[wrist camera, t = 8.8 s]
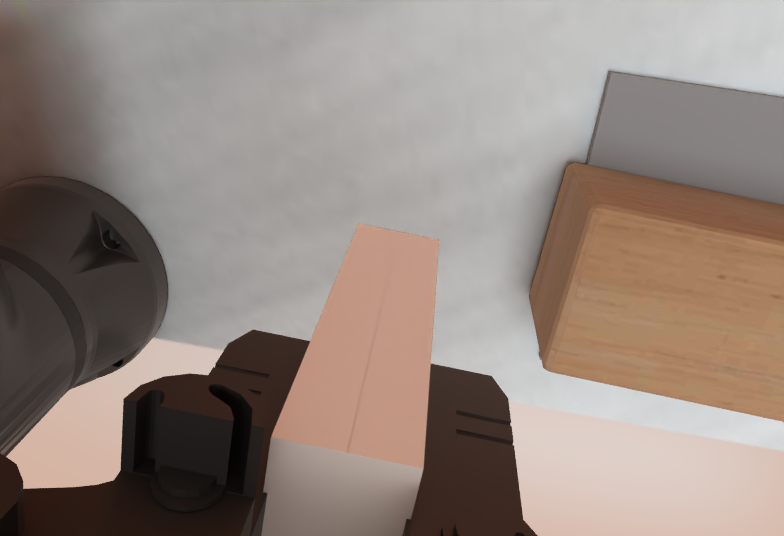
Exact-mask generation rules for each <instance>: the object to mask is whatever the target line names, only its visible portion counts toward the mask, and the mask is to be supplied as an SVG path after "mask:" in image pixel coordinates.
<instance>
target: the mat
mask: <svg viewBox="0 0 784 536" xmlns="http://www.w3.org/2000/svg"><path fill="white" fill-rule="evenodd" d="M586 165H590V166H595V167H600V168H605V169H609V170H614V171H619V172H624V173H629V174H634V175H638V176H643V177H648V178H653V179H658V180H663V181H667V182H672V183H677V184H682V185H687V186H692V187H696V188H701V189H706V190H711V191H716V192H721V193H725V194H730V195H735V196H740V197H745V198H750V199H754V200H759V201H764V202H769V203H774V204H779V205H783V206H784V97H778V96H771V95H765V94H758V93H752V92H745V91H738V90H732V89H725V88H718V87H712V86H705V85H698V84H692V83H685V82H679V81H672V80H665V79H659V78H652V77H645V76H639V75H632V74H626V73H619V72H612V71H609V73H608V77H607V81H606V85H605V89H604V93H603V97H602V101H601V106H600V110H599V114H598V118H597V122H596V126H595V130H594V134H593V138H592V142H591V146H590V150H589V154H588V158H587V162H586ZM539 357H540V360H542V359H541V354H540V352H539Z"/></svg>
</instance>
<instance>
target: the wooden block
mask: <svg viewBox="0 0 784 536" xmlns="http://www.w3.org/2000/svg"><path fill="white" fill-rule="evenodd" d="M529 299H530V304H531V309H532V314H533V319H534V324H535V329H536V334H537V339H538V344H539V349H540V354H541V359H542V364H543V368H544V369H546V370H548V371H550V372H553V373H558V374H563V375H567V376H572V377H577V378H581V379H586V380H591V381H595V382H600V383H605V384H610V385H614V386H619V387H624V388H628V389H633V390H638V391H642V392H647V393H652V394H656V395H661V396H666V397H671V398H675V399H680V400H685V401H689V402H694V403H699V404H703V405H708V406H713V407H717V408H722V409H727V410H731V411H736V412H741V413H746V414H750V415H755V416H760V417H764V418H769V419H774V420H778V421H783V422H784V206H783V205H779V204H774V203H769V202H764V201H759V200H754V199H750V198H745V197H740V196H735V195H730V194H725V193H721V192H716V191H711V190H706V189H701V188H696V187H692V186H687V185H682V184H677V183H672V182H667V181H663V180H658V179H653V178H648V177H643V176H638V175H634V174H629V173H624V172H619V171H614V170H609V169H605V168H600V167H595V166H590V165H585V164H580V163H571V164H569V165H568V167H567V168H566V170H565V174H564V177H563V181H562V184H561V187H560V191H559V194H558V198H557V201H556V205H555V208H554V212H553V215H552V219H551V222H550V225H549V229H548V232H547V236H546V239H545V243H544V246H543V250H542V253H541V256H540V260H539V263H538V267H537V270H536V274H535V277H534V281H533V284H532V288H531V291H530V294H529Z"/></svg>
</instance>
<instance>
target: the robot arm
mask: <svg viewBox="0 0 784 536" xmlns="http://www.w3.org/2000/svg"><path fill="white" fill-rule="evenodd" d="M438 249H439V240H437V239H432V238H427V237H422V236H418V235H413V234H408V233H403V232H398V231H393V230H388V229H383V228H378V227H373V226H368V225H364V224H358V227H357V229H356V231H355V234H354V236H353V239H352V241H351V244H350V246H349V249H348V251H347V253H346V256H345V258H344V261H343V263H342V266H341V268H340V270H339V273H338V275H337V278H336V280H335V283H334V285H333V287H332V290H331V292H330V295H329V297H328V300H327V302H326V304H325V307H324V309H323V312H322V314H321V317H320V319H319V322H318V324H317V326H316V329H315V331H314V334H313V336H312V339H311V341H306V340H301V339H296V338H291V337H286V336H281V335H277V334H272V333H267V332H262V331H257V330H252V331H250V332H248V333H246V334H245V335H243V336H241V337H239V338H238V339H236V340H234V341H232V342H231V343H229V344H228V345H227V347H226V348H225V350H224V352H223V353H222V355H221V356H220V358H219V360H218V361H217V363H216V366H215V368H214V367H213V369H212V370H211V372H210V373H209V375H199V374H183V375H175V376H166V377H162V378H159V379H157V380H154V381H151V382H149V383H146V384H143V385H140V386H139V387H138V388H137V389H135V390H134V391H133V392H132V393H130V394H129V395H128V396H127V397H126V398H124V405H123V430H122V453H121V471H120V472H119V474H118V475H117V477H116V478H115V480H114V481H110V482H106V483H102V484H99V485H91V486H82V487H69V488H39V489H38V488H37V489H23V480H22V477H21V475H20V472H19V470H18V467H17V464H15V463H14V462H12V461H11V460H10V459H8V458H7V457H6V456H7V455H8V454H9V453H10V452H11V451H12V450H13V449H14V447H15V446H16V445H17V444H18V443H19V442H20V441H21V440H22V439H23V438H24V437H25V436H26V435H27V434H28V433H29V432H30V431H31V429H32V428H33V427H34V426H35V425H36V424H37V423H38V422H39V421H40V420H41V419H42V418H43V417H44V416H45V415H46V414H47V412H48V411H49V410H50V409H51V408H52V407H53V406H54V405H55V404H56V403H57V402H58V401H59V399H60V398H61V397H62V396H63V395H64V394H65V393H66V392H67V391H68V390H70V389H72V388H75V387H77V386H80V385H82V384H85V383H87V382H90V381H92V380H95V379H96V378H99V377H102V376H105V375H107V374H110V373H112V372H114V371H116V370H118V369H120V368H121V367H123V366H124V365H126V364H127V363H128V362H130V361H131V360H132V359H134V358H135V357H136V356H137V355H138V354H139V353H140V352H141V350H142V349H143V348H144V347H145V346H146V344H148V343H149V341H150V340H151V339H152V338H153V337H154V335H155V334H156V332H157V330H158V329H159V327H160V325H161V322H162V320H163V317H164V314H165V310H166V305H167V279H166V273H165V269H164V265H163V262H162V259H161V257H160V254H159V252H158V250H157V248H156V246H155V244H154V242H153V240H152V239H151V237H150V235H149V234H148V232H147V231H146V229H145V228H144V227H143V226H142V224H141V223H140V222H139V221H138V220H137V219H136V217H135V216H134V215H133V214H132V213H131V212H130V211H128V210H127V209H126V208H125V207H124V206H123V205H121V204H120V203H119V202H118V201H116V200H115V199H113V198H112V197H110V196H109V195H107V194H105V193H104V192H102V191H100V190H98V189H96V188H94V187H92V186H89V185H87V184H84V183H81V182H78V181H74V180H70V179H65V178H58V177H36V178H29V179H24V180H21V181H18V182H15V183H12V184H10V185H8V186H6V187H3V188H1V189H0V536H537V535H536V534H535V532H534V531H533V530H532V529H531V528H530V527H529V526H528V525H527V523H525V521H524V520H523V515H522V507H521V499H520V491H519V483H518V475H517V467H516V459H515V451H514V446H513V435H512V427H511V426H510V423H511V419H510V411H509V403H508V398H507V396H506V395H505V394H504V392H503V391H502V390H501V388H500V387H499V386H498V384H497V383H496V382H495V380H494V379H493V377H492V376H488V375H484V374H479V373H474V372H469V371H464V370H459V369H454V368H450V367H445V366H440V365H435V364H431V352H432V337H433V322H434V308H435V293H436V279H437V264H438Z"/></svg>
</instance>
